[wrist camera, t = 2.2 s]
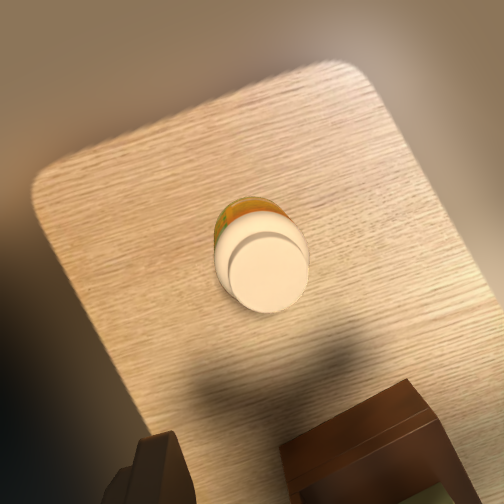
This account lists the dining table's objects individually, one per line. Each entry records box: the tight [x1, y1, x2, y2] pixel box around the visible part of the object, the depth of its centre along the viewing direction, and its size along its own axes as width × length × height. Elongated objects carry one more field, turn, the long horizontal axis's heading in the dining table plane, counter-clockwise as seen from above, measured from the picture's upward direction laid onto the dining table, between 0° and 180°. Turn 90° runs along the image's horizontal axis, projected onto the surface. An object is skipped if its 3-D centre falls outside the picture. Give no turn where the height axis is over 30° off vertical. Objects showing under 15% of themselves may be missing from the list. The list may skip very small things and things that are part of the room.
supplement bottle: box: [214, 196, 310, 313], centre depth 25 cm, size 5×5×10 cm
